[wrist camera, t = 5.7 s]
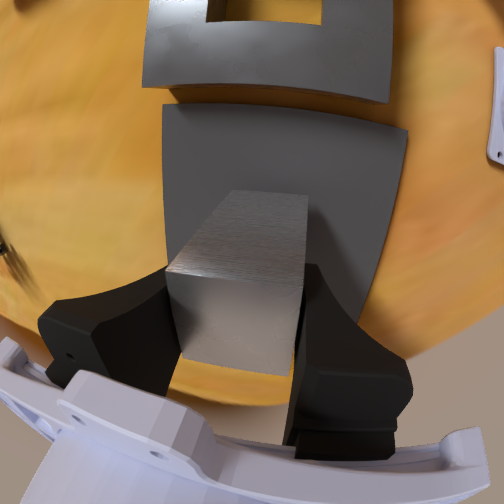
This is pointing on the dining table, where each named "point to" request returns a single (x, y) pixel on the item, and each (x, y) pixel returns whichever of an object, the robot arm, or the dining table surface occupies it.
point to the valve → (3, 249)
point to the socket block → (272, 50)
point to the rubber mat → (287, 179)
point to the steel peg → (242, 283)
